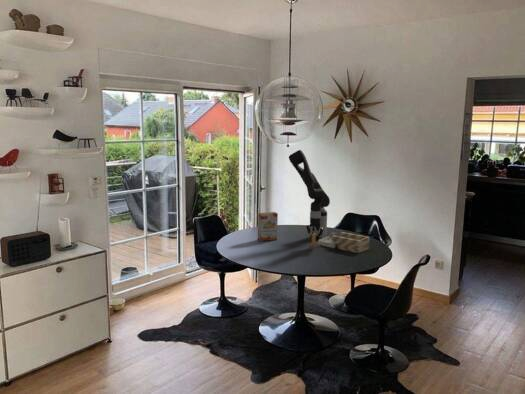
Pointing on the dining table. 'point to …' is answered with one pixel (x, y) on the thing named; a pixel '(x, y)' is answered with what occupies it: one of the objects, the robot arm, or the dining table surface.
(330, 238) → the chip
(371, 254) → the dining table surface
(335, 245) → the chip tray
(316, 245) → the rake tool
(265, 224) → the cracker box
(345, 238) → the channel block
